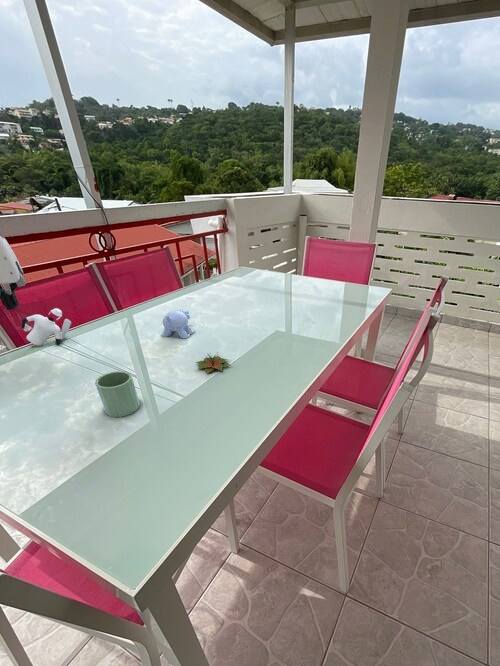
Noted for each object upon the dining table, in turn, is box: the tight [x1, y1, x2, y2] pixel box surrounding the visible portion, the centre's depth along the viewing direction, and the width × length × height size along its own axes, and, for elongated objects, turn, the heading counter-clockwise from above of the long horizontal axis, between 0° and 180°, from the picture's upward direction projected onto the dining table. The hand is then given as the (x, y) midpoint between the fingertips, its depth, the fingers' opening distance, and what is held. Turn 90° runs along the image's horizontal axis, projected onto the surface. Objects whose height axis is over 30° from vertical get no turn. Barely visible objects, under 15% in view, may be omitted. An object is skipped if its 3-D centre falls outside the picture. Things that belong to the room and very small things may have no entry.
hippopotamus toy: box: [161, 309, 195, 339], centre depth 129 cm, size 11×15×10 cm
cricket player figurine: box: [20, 307, 72, 347], centre depth 117 cm, size 13×10×15 cm
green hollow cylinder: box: [94, 370, 140, 418], centre depth 87 cm, size 8×8×9 cm
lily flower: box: [194, 351, 232, 374], centre depth 110 cm, size 12×12×5 cm
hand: (12, 308), depth 88 cm, fingers closed
